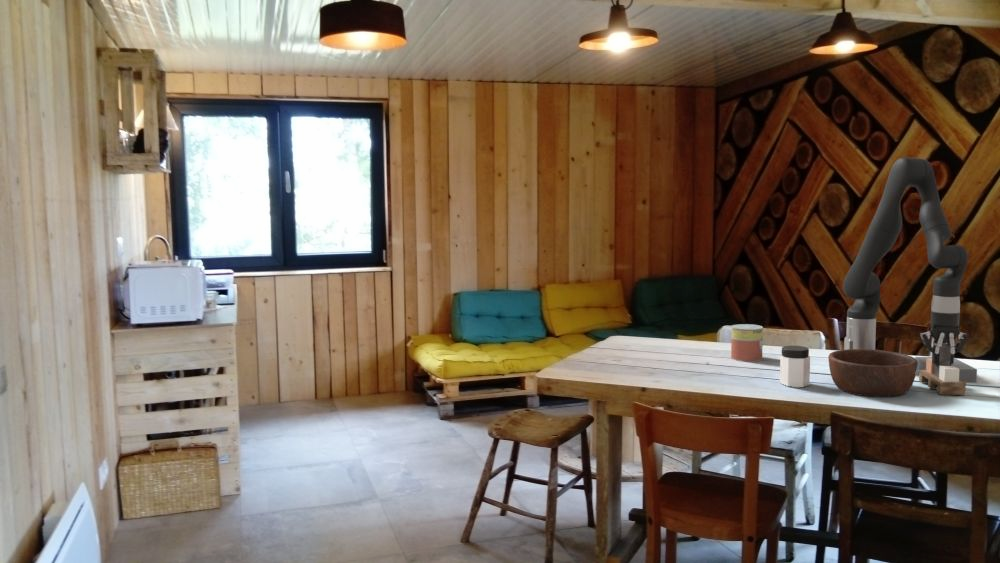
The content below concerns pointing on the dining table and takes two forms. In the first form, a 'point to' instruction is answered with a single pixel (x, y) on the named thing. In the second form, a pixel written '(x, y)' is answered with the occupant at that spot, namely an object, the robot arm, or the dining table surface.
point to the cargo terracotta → (930, 366)
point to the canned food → (746, 342)
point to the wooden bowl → (872, 372)
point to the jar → (795, 366)
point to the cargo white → (949, 374)
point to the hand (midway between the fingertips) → (942, 364)
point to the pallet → (942, 384)
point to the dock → (965, 370)
